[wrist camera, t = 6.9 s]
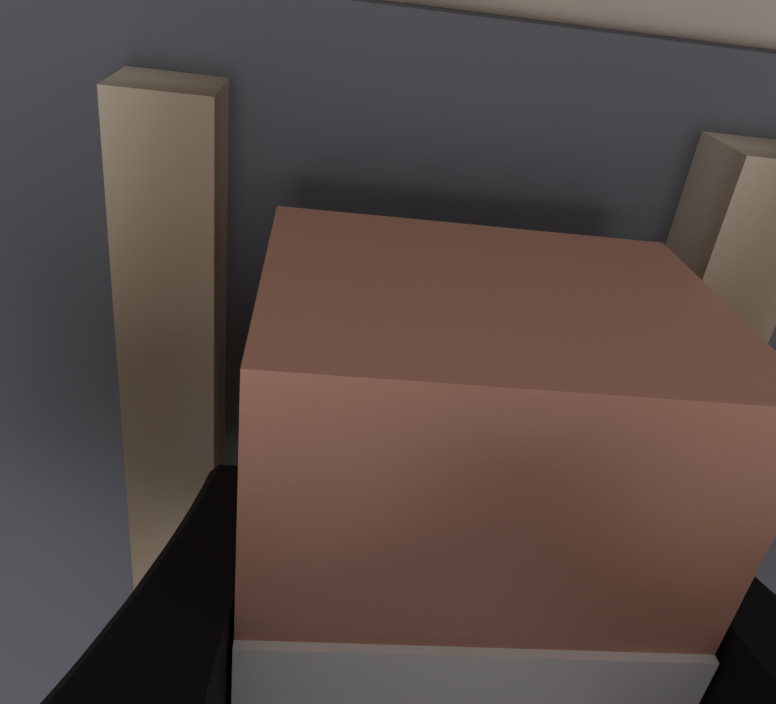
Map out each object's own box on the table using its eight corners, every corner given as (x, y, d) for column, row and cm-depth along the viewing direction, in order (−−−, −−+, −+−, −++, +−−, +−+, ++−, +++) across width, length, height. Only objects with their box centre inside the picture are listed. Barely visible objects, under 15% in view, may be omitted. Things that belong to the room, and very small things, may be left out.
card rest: (788, 140, 10) (843, 166, 9) (593, 650, 14) (612, 706, 13) (126, 65, 9) (97, 84, 8) (156, 637, 14) (141, 696, 12)
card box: (521, 681, 13) (581, 929, 9) (254, 673, 12) (226, 933, 9) (662, 243, 9) (846, 418, 5) (276, 205, 8) (238, 375, 5)
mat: (1148, 97, 10) (1192, 107, 10) (677, 876, 20) (686, 900, 20) (-361, -95, 8) (-408, -96, 8) (-41, 879, 18) (-53, 907, 18)
